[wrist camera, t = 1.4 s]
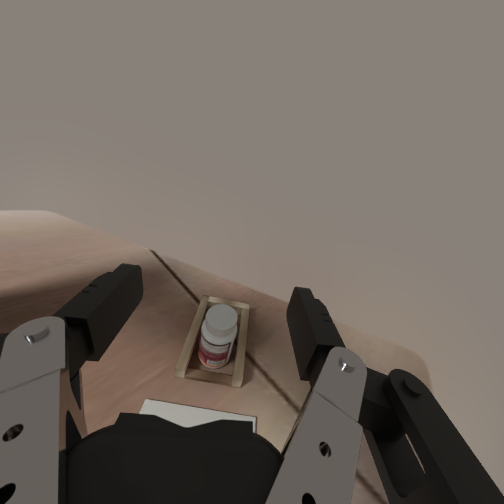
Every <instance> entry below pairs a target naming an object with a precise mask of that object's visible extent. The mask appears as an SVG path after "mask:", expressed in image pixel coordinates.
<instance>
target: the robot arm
mask: <svg viewBox="0 0 504 504" xmlns="http://www.w3.org/2000/svg"><path fill="white" fill-rule="evenodd" d="M142 296H143V282H142V271H141V267H140V266H139V265H131V264H124V263H123V264H121V265H120V266H119V267H118V268H116V269H115V270H114V271H113V272H108V273H106V274H103V275H101V276H99V277H97V278H96V279H95V280H94V281H92V282H91V283H90V284H89V286H87V287H85V288H84V289H83V290H82V292H80V293H78V294H77V295H76V296H75V297H74V298H73V299H71V300H70V301H69V302H68V303H67V304H66V305H64V306H63V307H62V308H61V309H60V310H58V311H57V312H56V313H55V314H54V315H53V316H49V317H42V318H37V319H34V320H31V321H28V322H26V323H24V324H22V325H20V326H19V327H17V328H16V329H14V330H13V331H12V332H11V333H6V334H0V504H351V499H352V493H353V487H354V481H355V475H356V469H357V463H358V457H359V451H360V445H361V439H362V432H364V434H365V437H366V440H367V443H368V445H369V448H370V451H371V454H372V456H373V459H374V462H375V465H376V467H377V470H378V473H379V476H380V478H381V481H382V484H383V487H384V489H385V492H386V495H387V498H388V500H389V503H390V504H504V496H503V494H502V493H501V492H500V490H499V489H498V487H497V486H496V484H495V483H494V482H493V480H492V479H491V477H490V476H489V475H488V473H487V472H486V470H485V469H484V467H483V466H482V465H481V463H480V462H479V460H478V459H477V458H476V456H475V455H474V453H473V452H472V450H471V449H470V447H469V446H468V445H467V443H466V442H465V440H464V439H463V437H462V436H461V435H460V433H459V432H458V430H457V429H456V428H455V426H454V425H453V423H452V422H451V420H450V419H449V418H448V416H447V415H446V413H445V412H444V410H443V409H442V408H441V406H440V405H439V404H438V402H437V401H436V399H435V398H434V396H433V395H432V393H431V392H430V391H429V389H428V388H427V387H426V386H425V385H424V383H422V382H421V381H420V380H419V379H418V378H417V377H415V376H414V375H412V374H411V373H409V372H407V371H404V370H401V369H394V370H392V371H391V372H390V373H389V375H388V376H387V375H385V374H382V373H380V372H377V371H375V370H372V369H369V368H367V367H366V366H365V364H364V363H363V361H362V360H361V359H360V357H359V356H358V355H356V354H355V353H354V352H352V351H351V350H349V349H347V348H346V347H345V345H344V343H343V341H342V339H341V337H340V335H339V333H338V331H337V329H336V327H335V325H334V323H333V321H332V319H331V317H330V316H329V312H328V310H327V308H326V306H325V305H324V304H323V303H322V302H321V301H320V300H319V299H314V296H313V294H312V292H311V290H310V289H309V288H302V287H295V288H294V290H293V293H292V296H291V299H290V302H289V305H288V308H287V323H288V327H289V332H290V336H291V340H292V345H293V349H294V354H295V358H296V362H297V367H298V371H299V376H300V380H304V381H309V382H310V385H311V388H310V390H309V392H308V395H307V397H306V399H305V401H304V403H303V406H302V408H301V410H300V412H299V414H298V417H297V419H296V421H295V423H294V426H293V428H292V430H291V432H290V434H289V436H288V438H287V440H286V442H285V444H284V446H283V449H282V451H281V453H280V452H279V451H278V450H277V449H276V448H275V447H274V446H273V445H272V444H271V443H270V442H269V441H268V440H266V439H265V438H263V437H262V436H260V435H258V434H256V433H254V432H253V421H241V420H226V419H221V420H217V421H213V422H209V423H205V424H200V425H196V426H192V427H183V426H180V425H178V424H175V423H173V422H171V421H168V420H166V419H163V418H161V417H159V416H156V415H150V414H135V413H120V415H119V417H118V419H117V421H116V423H115V424H114V425H110V426H107V427H105V428H102V429H99V430H97V431H95V432H93V433H91V434H89V435H88V432H87V427H86V422H85V416H84V403H83V388H82V374H81V369H80V368H81V367H82V365H83V364H84V363H85V361H86V360H87V361H99V360H100V358H101V357H102V355H103V354H104V353H105V351H106V350H107V348H108V347H109V345H110V344H111V343H112V341H113V340H114V338H115V337H116V335H117V334H118V333H119V331H120V330H121V328H122V327H123V326H124V324H125V323H126V321H127V320H128V318H129V317H130V316H131V314H132V313H133V311H134V310H135V308H136V307H137V306H138V304H139V303H140V301H141V299H142ZM406 433H407V435H408V437H409V439H410V441H411V443H412V445H413V447H414V449H415V451H416V453H417V455H418V457H419V459H420V461H421V463H422V465H423V467H424V471H425V473H424V471H423V470H422V468H421V466H420V464H419V462H418V460H417V458H416V456H415V454H414V452H413V450H412V448H411V446H410V444H409V442H408V440H407V438H406V436H405V434H406Z"/></svg>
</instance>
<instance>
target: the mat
mask: <svg viewBox="0 0 504 504" xmlns="http://www.w3.org/2000/svg"><path fill="white" fill-rule="evenodd" d="M139 414H150V415H156V416H159V417H161V418H163V419H166V420H168V421H171V422H173V423H175V424H178V425H180V426H183V427H192V426H196V425H200V424H205V423H209V422H213V421H217V420H221V419H226V420H241V421H253V432H254V433H255V421H256V417H251V416H245V415H239V414H233V413H227V412H221V411H215V410H209V409H203V408H197V407H191V406H185V405H179V404H173V403H167V402H161V401H155V400H149V399H146V400H145V402H144V404H143V406H142V409H141V411H140V413H139Z"/></svg>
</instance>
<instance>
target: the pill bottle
mask: <svg viewBox="0 0 504 504" xmlns="http://www.w3.org/2000/svg"><path fill="white" fill-rule="evenodd" d="M237 319H238V317H237V313H236V311H235V310H234V309H233V308H232V307H230V306H228V305H225V304H217V305H214V306H212V307H211V308H210V309H209V310H208V311H207V313H206V318H205V320H204V321H203V323H202V326H201V335H200V343H199V352H198V355H199V359H200V361H201V362H202V364H203V365H205V366H206V367H208V368H212V369H216V368H220V367H222V366H224V365H225V364H226V363H227V362H228V360H229V358H230V355H231V352H232V348H233V345H234V341H235V338H236V335H237V325H236V324H237Z"/></svg>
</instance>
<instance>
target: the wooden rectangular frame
mask: <svg viewBox="0 0 504 504" xmlns="http://www.w3.org/2000/svg"><path fill="white" fill-rule="evenodd" d="M217 304H225V305H228V306H230V307H232V308H233V309H234V310H235V311H236V313H237V315H240V316H241V317H240V324H239V331H238V339H237V346H236V353H235V361H234V368H233V375H232V376H230V375H224V374H219V373H213V372H207V371H202V370H196V369H191V368H188V365H189V362H190V359H191V356H192V353H193V350H194V347H195V344H196V341H197V338H198V334H199V331H200V328H201V325H202V322H203V319H204V316H205V313H206V310H207V309H210V308H211V307H212V306H214V305H217ZM249 308H250V304H246V303H241V302H236V301H231V300H226V299H221V298H216V297H211V296H206V295H203V296H202V299H201V302H200V304H199V307H198V310H197V312H196V315H195V317H194V320H193V323H192V325H191V328H190V331H189V333H188V336H187V338H186V341H185V344H184V346H183V349H182V352H181V354H180V357H179V359H178V362H177V365H176V367H175V377H181V378H187V379H192V380H198V381H204V382H210V383H215V384H221V385H227V386H232V387H238V388H240V386H241V384H242V381H243V372H244V362H245V351H246V340H247V330H248V319H249Z"/></svg>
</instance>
